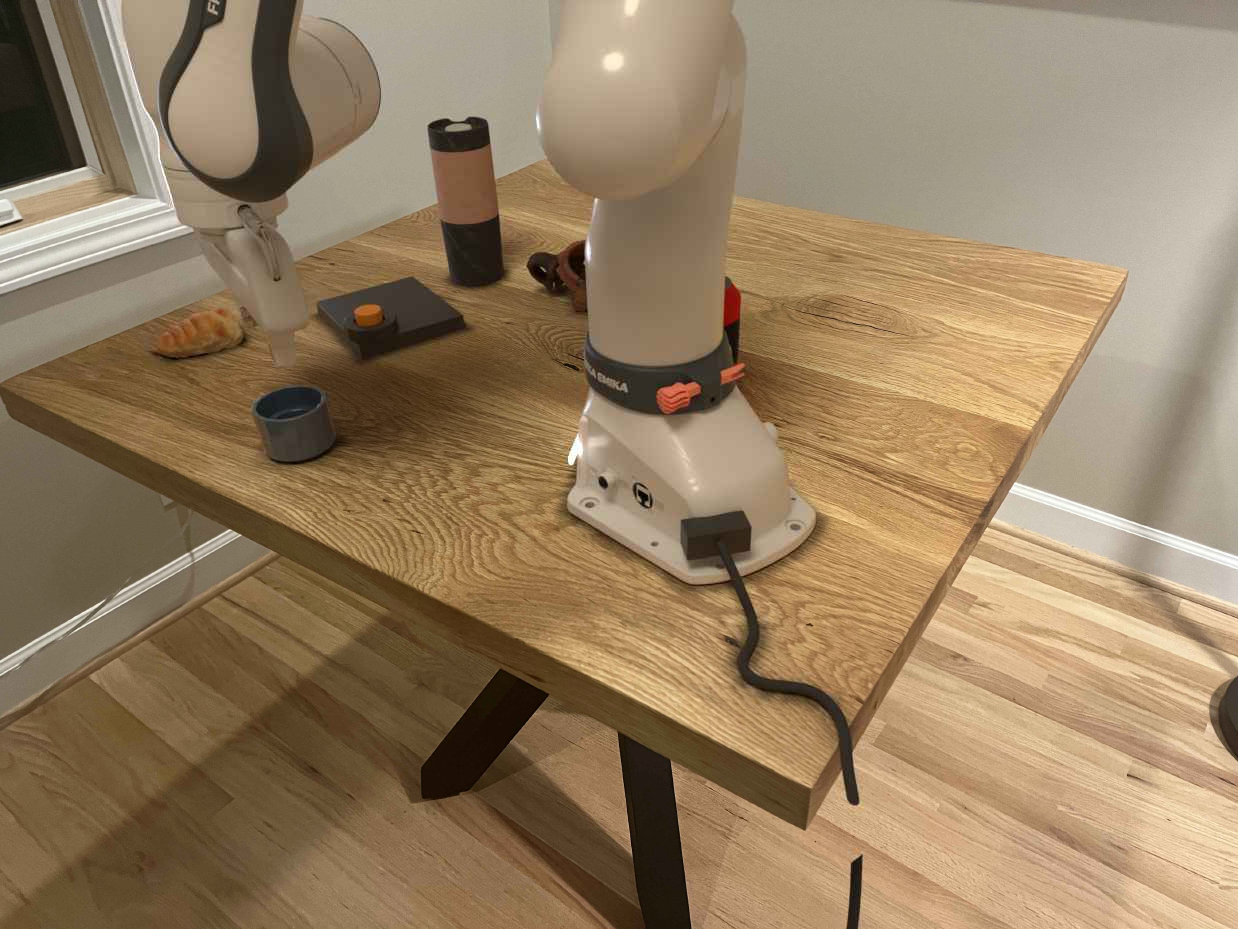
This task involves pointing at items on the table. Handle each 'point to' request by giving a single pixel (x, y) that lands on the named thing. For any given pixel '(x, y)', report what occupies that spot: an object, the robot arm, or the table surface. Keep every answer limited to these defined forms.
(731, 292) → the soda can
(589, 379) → the robot arm
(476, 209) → the travel mug
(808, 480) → the table surface
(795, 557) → the table surface
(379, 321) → the button
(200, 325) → the pastry
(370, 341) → the scale
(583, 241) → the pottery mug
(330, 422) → the bowl
